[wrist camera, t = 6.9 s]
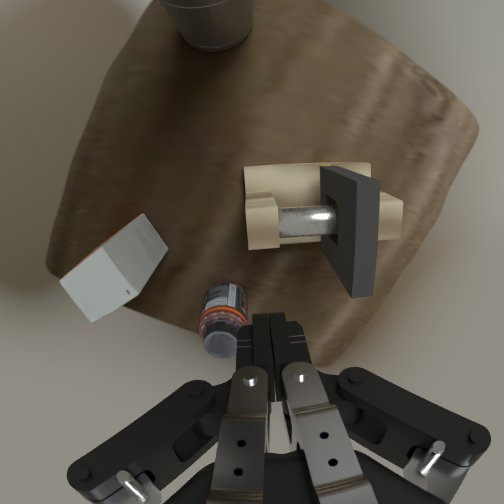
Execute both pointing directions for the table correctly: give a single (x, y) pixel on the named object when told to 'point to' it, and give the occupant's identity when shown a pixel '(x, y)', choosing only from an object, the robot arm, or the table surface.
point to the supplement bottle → (223, 318)
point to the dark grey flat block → (352, 227)
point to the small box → (115, 269)
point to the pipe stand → (302, 205)
